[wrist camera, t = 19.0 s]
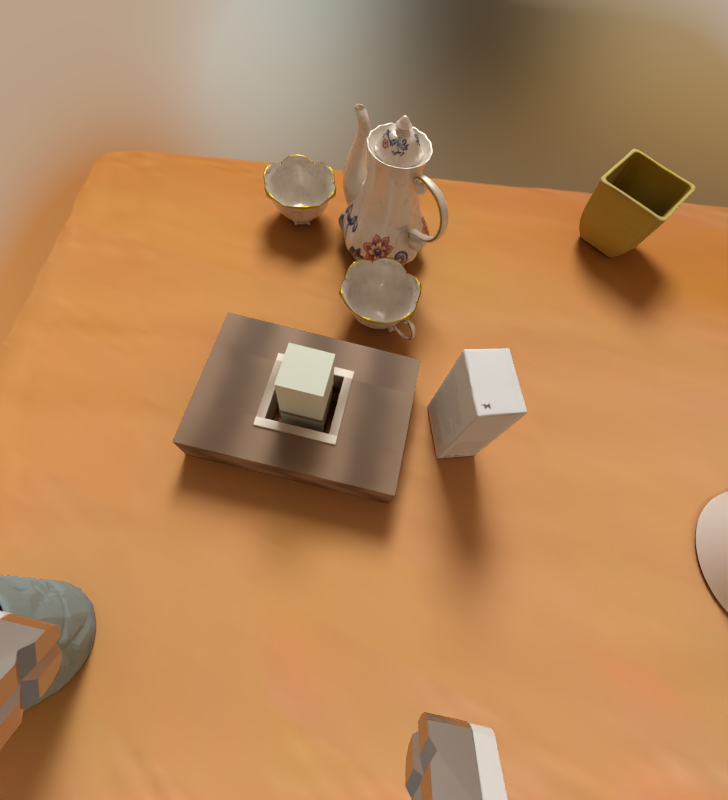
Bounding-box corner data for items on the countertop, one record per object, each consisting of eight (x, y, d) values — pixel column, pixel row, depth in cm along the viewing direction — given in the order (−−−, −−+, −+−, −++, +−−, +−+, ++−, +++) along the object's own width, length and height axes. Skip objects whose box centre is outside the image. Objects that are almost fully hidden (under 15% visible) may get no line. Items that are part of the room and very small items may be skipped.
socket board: (412, 377, 46) (421, 358, 42) (387, 503, 40) (395, 495, 36) (235, 333, 46) (227, 311, 42) (185, 454, 40) (171, 440, 36)
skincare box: (475, 456, 43) (529, 415, 32) (435, 459, 43) (476, 418, 32) (464, 402, 45) (511, 346, 35) (426, 404, 45) (461, 348, 34)
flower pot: (559, 235, 57) (600, 177, 49) (592, 205, 60) (635, 146, 52) (612, 275, 55) (664, 221, 47) (643, 242, 58) (698, 186, 50)
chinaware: (247, 216, 55) (204, 83, 39) (349, 159, 58) (347, 17, 43) (379, 374, 48) (391, 289, 32) (486, 298, 51) (544, 189, 36)
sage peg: (332, 400, 44) (336, 353, 35) (322, 436, 42) (323, 397, 33) (294, 391, 44) (288, 341, 35) (282, 426, 42) (273, 384, 33)
